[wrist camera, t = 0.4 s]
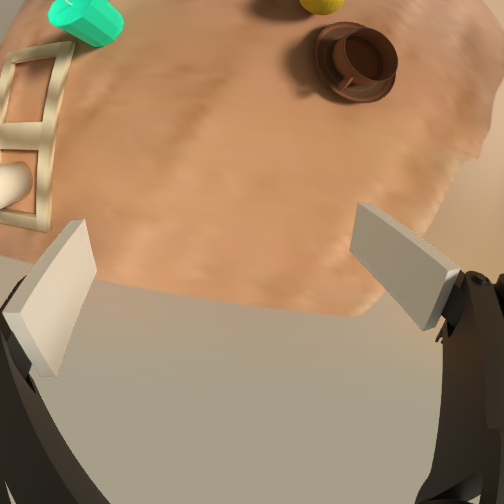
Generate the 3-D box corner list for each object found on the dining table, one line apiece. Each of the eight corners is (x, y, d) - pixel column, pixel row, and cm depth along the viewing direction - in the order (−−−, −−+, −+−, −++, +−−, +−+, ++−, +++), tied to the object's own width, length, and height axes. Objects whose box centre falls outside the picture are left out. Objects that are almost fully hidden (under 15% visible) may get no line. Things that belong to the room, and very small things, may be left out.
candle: (85, 53, 27) (39, 32, 16) (85, 19, 24) (44, -8, 13) (124, 39, 27) (87, 8, 16) (124, 5, 24) (91, -31, 13)
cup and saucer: (379, 117, 34) (403, 116, 28) (300, 85, 32) (313, 76, 26) (394, 48, 30) (418, 39, 24) (319, 13, 28) (335, -4, 22)
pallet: (12, 53, 23) (6, 52, 22) (76, 42, 26) (71, 40, 24) (-6, 217, 33) (-11, 220, 32) (51, 229, 36) (46, 232, 34)
